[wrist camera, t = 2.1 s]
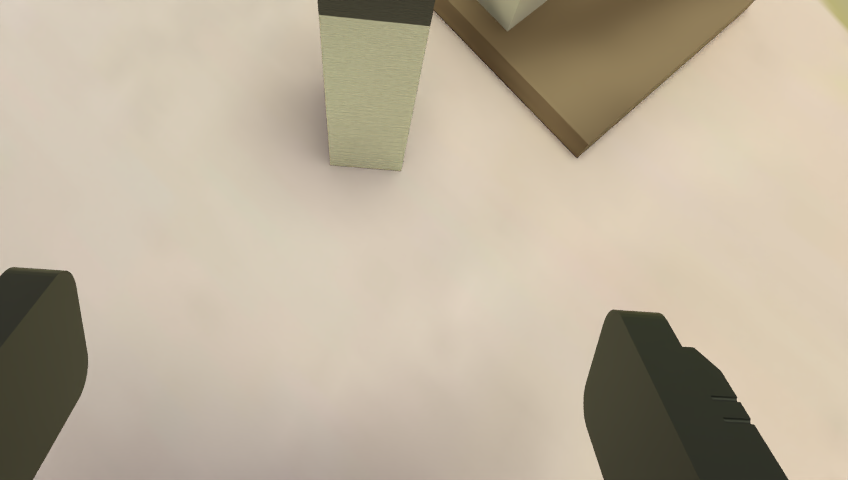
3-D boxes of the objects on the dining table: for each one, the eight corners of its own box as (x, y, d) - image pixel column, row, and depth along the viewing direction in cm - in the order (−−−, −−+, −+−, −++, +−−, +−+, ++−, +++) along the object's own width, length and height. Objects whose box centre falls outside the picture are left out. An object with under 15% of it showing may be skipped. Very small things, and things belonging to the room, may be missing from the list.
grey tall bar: (330, 164, 29) (313, -62, 16) (337, 79, 30) (328, -202, 17) (400, 170, 29) (444, -47, 16) (406, 85, 30) (451, -186, 17)
